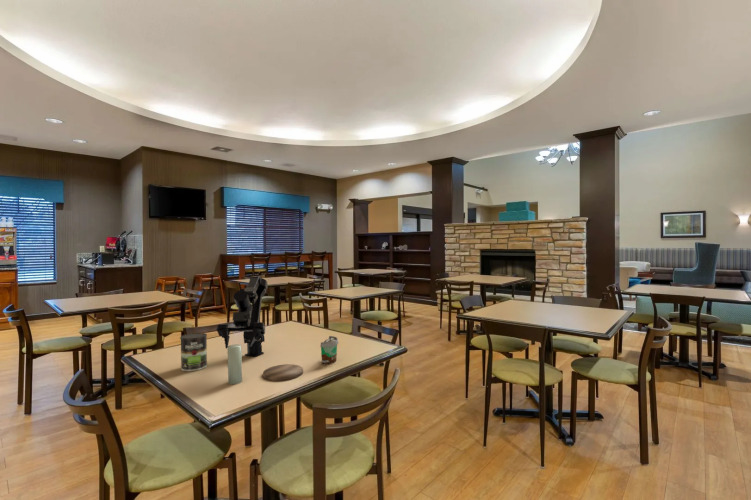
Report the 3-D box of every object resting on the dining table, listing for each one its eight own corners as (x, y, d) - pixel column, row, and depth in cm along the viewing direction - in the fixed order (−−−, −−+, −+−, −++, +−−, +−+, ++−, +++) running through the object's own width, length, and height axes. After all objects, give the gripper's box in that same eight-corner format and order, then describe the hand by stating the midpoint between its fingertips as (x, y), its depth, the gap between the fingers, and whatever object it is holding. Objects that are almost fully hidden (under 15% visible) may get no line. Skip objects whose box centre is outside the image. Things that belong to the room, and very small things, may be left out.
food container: (334, 365, 157) (333, 343, 157) (320, 365, 158) (320, 342, 158) (342, 357, 169) (341, 336, 169) (329, 356, 170) (329, 335, 170)
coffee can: (207, 368, 155) (207, 336, 155) (180, 373, 151) (180, 339, 150) (206, 362, 164) (206, 331, 164) (181, 366, 160) (180, 334, 160)
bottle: (225, 383, 139) (224, 347, 139) (235, 378, 143) (235, 343, 143) (234, 385, 137) (233, 348, 136) (244, 380, 141) (244, 345, 141)
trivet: (254, 377, 145) (254, 374, 145) (282, 365, 159) (281, 362, 159) (284, 383, 137) (284, 380, 137) (311, 370, 152) (310, 367, 152)
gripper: (217, 304, 149) (209, 337, 138) (263, 303, 152) (259, 335, 141) (223, 319, 157) (215, 352, 146) (267, 318, 160) (263, 349, 149)
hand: (238, 347), depth 145 cm, fingers open, 9 cm apart
